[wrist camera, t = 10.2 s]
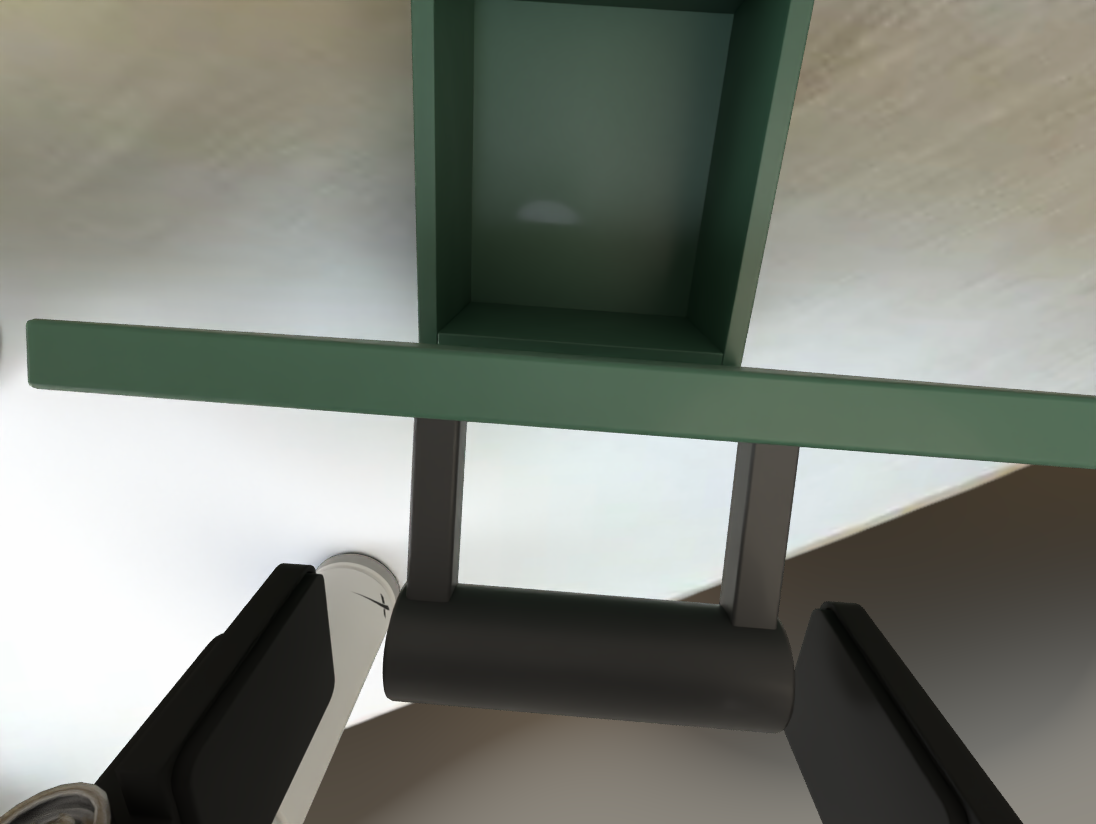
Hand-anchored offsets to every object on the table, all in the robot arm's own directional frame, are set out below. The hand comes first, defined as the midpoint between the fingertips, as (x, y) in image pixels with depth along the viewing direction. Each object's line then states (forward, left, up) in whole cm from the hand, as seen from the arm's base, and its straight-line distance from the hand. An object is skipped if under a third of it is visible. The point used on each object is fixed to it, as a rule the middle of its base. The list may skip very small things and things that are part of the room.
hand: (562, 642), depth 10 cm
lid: (0, +4, -6) cm, 7 cm away
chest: (0, +10, -23) cm, 25 cm away
